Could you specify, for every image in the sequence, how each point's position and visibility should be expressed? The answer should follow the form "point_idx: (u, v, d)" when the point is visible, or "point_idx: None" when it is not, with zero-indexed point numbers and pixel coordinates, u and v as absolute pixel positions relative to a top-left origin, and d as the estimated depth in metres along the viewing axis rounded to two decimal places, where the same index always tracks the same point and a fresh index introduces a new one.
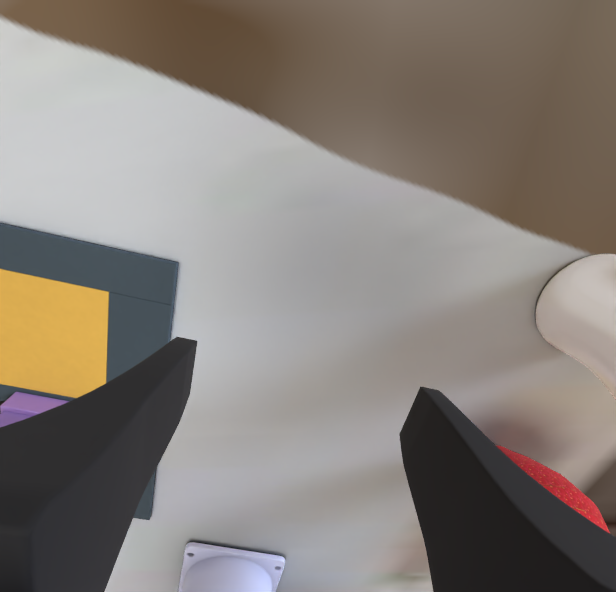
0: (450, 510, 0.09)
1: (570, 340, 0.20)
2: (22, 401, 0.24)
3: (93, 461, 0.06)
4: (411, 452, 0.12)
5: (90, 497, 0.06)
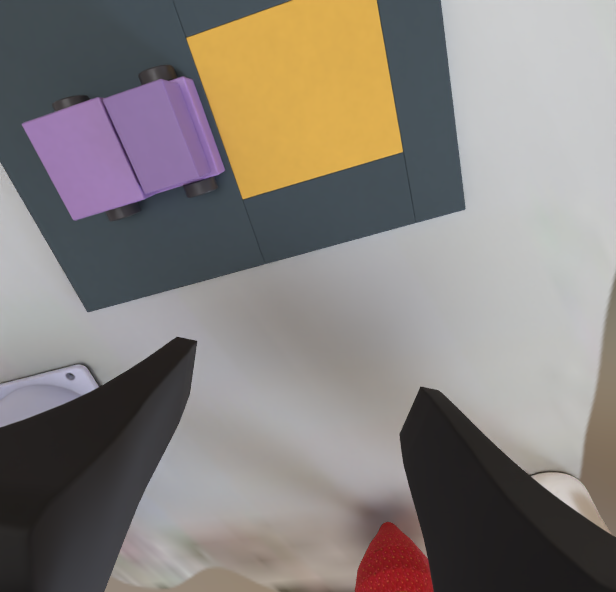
0: (450, 510, 0.09)
1: None
2: (196, 100, 0.17)
3: (93, 461, 0.06)
4: (411, 452, 0.12)
5: (90, 498, 0.06)
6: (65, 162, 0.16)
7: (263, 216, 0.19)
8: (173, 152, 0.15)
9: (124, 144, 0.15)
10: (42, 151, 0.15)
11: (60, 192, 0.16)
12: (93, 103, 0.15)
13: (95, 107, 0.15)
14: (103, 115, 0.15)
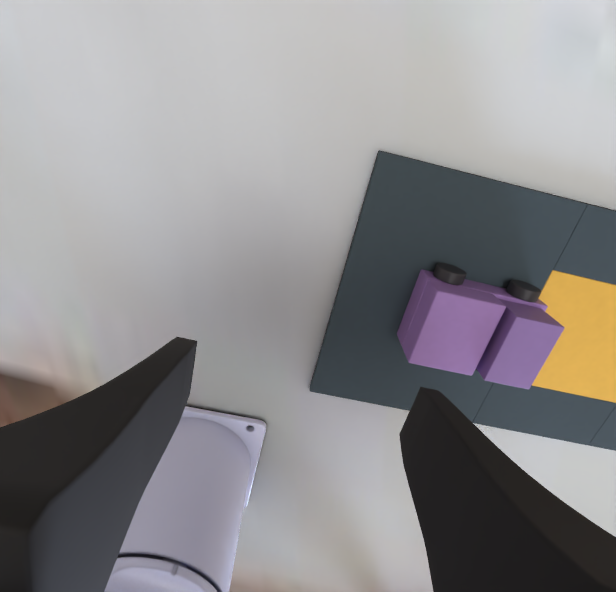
0: (450, 510, 0.09)
1: None
2: None
3: (93, 461, 0.06)
4: (411, 452, 0.12)
5: (90, 498, 0.06)
6: (442, 328, 0.18)
7: (499, 394, 0.23)
8: (528, 368, 0.19)
9: (502, 347, 0.18)
10: (433, 314, 0.18)
11: (419, 342, 0.19)
12: (500, 308, 0.18)
13: (498, 311, 0.18)
14: (497, 317, 0.18)
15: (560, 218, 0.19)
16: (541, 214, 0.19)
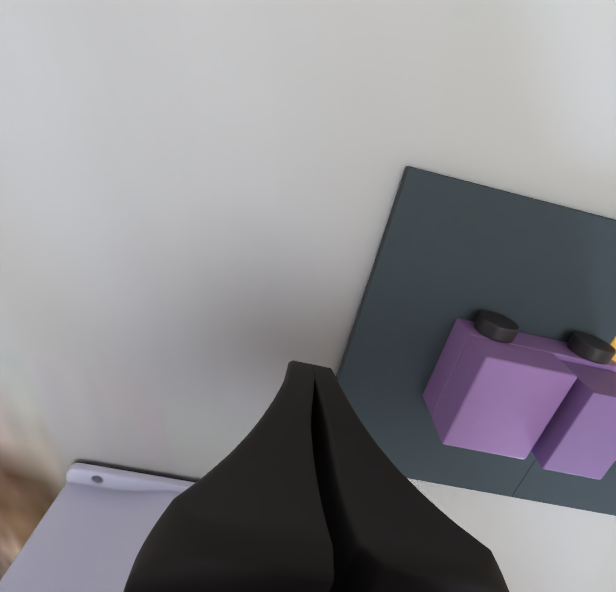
0: None
1: None
2: None
3: (320, 500, 0.06)
4: None
5: None
6: (490, 403, 0.14)
7: None
8: (602, 455, 0.14)
9: (570, 429, 0.14)
10: (480, 385, 0.13)
11: (458, 420, 0.14)
12: (569, 379, 0.13)
13: (566, 382, 0.13)
14: (565, 389, 0.14)
15: None
16: None
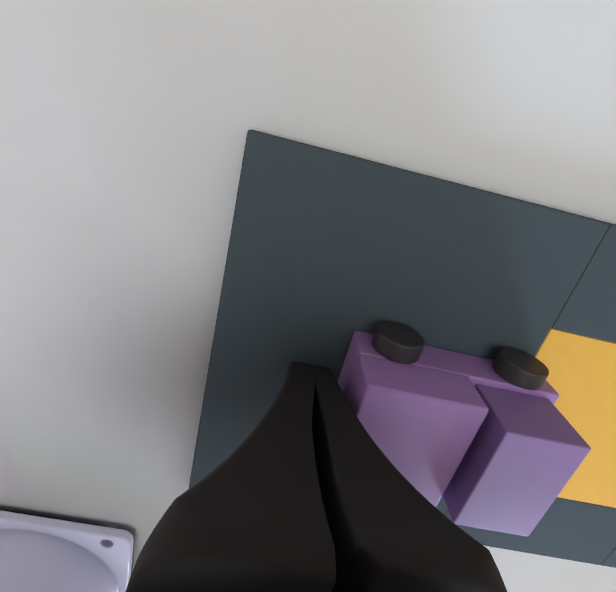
0: None
1: None
2: None
3: (321, 500, 0.06)
4: None
5: None
6: (380, 442, 0.11)
7: None
8: (527, 508, 0.11)
9: (482, 477, 0.10)
10: (363, 421, 0.10)
11: None
12: (478, 413, 0.10)
13: (475, 417, 0.10)
14: (474, 426, 0.10)
15: (564, 248, 0.11)
16: (532, 241, 0.11)
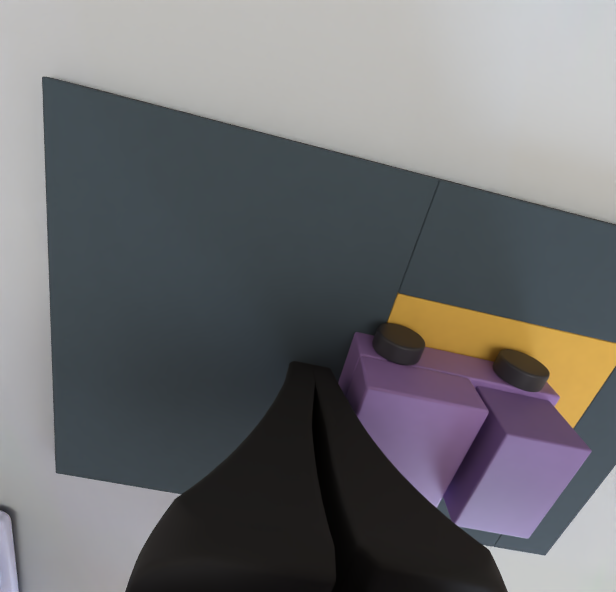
0: None
1: None
2: None
3: (321, 500, 0.06)
4: None
5: None
6: (380, 444, 0.11)
7: None
8: (527, 510, 0.11)
9: (482, 478, 0.10)
10: (363, 423, 0.10)
11: None
12: (478, 415, 0.10)
13: (475, 419, 0.10)
14: (474, 428, 0.10)
15: (396, 206, 0.11)
16: (361, 198, 0.11)
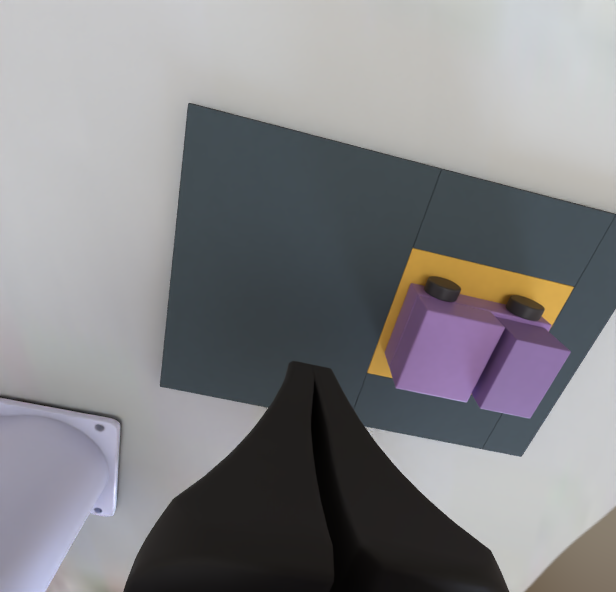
0: None
1: None
2: None
3: (319, 500, 0.06)
4: None
5: None
6: (433, 351, 0.16)
7: (373, 392, 0.21)
8: (529, 395, 0.17)
9: (500, 372, 0.16)
10: (423, 335, 0.16)
11: (407, 366, 0.17)
12: (498, 329, 0.16)
13: (496, 332, 0.16)
14: (495, 339, 0.16)
15: (412, 186, 0.16)
16: (389, 181, 0.16)
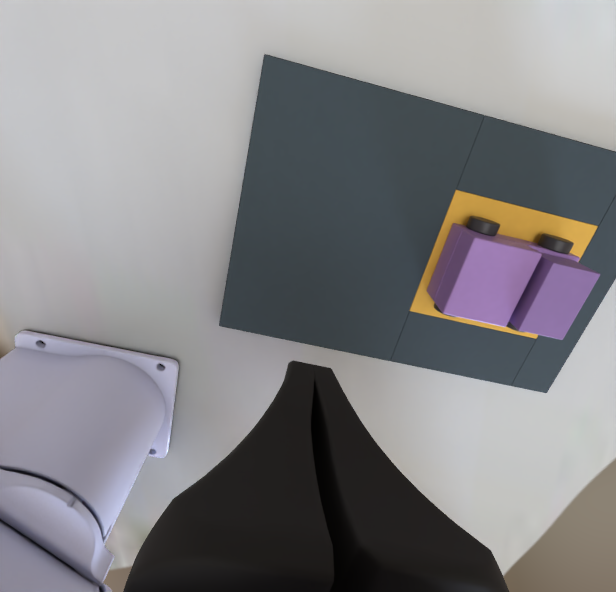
0: None
1: None
2: None
3: (320, 500, 0.06)
4: None
5: None
6: (478, 277, 0.18)
7: (414, 329, 0.23)
8: (563, 317, 0.19)
9: (537, 295, 0.18)
10: (470, 262, 0.18)
11: (454, 292, 0.19)
12: (536, 255, 0.18)
13: (534, 258, 0.18)
14: (533, 265, 0.18)
15: (458, 131, 0.18)
16: (438, 126, 0.18)
